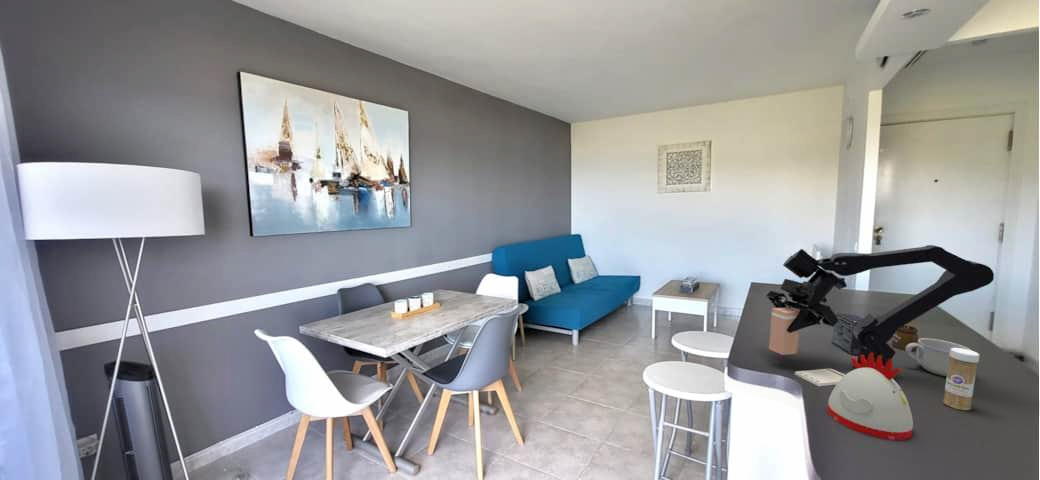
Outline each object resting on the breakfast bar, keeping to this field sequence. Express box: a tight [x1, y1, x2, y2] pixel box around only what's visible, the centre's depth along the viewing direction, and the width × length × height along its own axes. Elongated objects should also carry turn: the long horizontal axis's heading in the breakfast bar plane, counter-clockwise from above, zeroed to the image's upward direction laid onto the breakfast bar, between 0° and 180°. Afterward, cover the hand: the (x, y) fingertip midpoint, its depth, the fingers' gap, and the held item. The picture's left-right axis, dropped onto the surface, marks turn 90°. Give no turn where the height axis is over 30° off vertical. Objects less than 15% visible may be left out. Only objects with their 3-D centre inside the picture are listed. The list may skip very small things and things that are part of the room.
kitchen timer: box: [826, 353, 914, 441], centre depth 87 cm, size 14×14×15 cm
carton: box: [768, 307, 800, 356], centre depth 114 cm, size 5×5×12 cm
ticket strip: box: [794, 368, 846, 387], centre depth 108 cm, size 12×7×1 cm, turn 102°
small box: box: [831, 312, 864, 356], centre depth 128 cm, size 11×6×10 cm, turn 168°
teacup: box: [904, 337, 973, 377], centre depth 113 cm, size 14×11×8 cm
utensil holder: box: [891, 319, 919, 352], centre depth 131 cm, size 6×6×12 cm
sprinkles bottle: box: [942, 348, 980, 411], centre depth 93 cm, size 5×5×14 cm
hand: (780, 328), depth 114 cm, fingers closed on carton, 4 cm apart
